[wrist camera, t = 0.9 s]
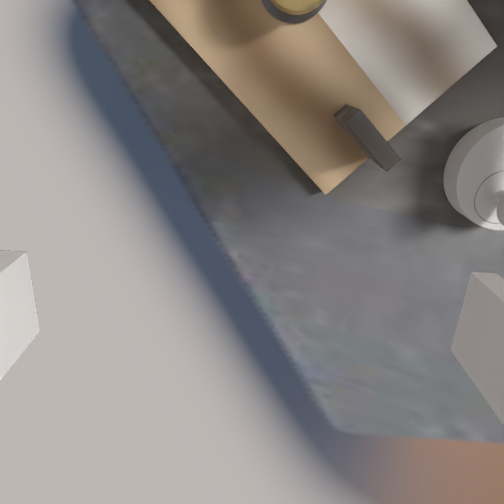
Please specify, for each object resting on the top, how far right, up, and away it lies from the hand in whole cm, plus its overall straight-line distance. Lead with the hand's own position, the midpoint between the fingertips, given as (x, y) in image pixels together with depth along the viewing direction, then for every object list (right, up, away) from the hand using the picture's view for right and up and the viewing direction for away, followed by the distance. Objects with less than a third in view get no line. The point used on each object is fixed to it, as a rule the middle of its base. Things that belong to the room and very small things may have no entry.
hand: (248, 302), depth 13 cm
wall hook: (+20, +9, +23) cm, 32 cm away
